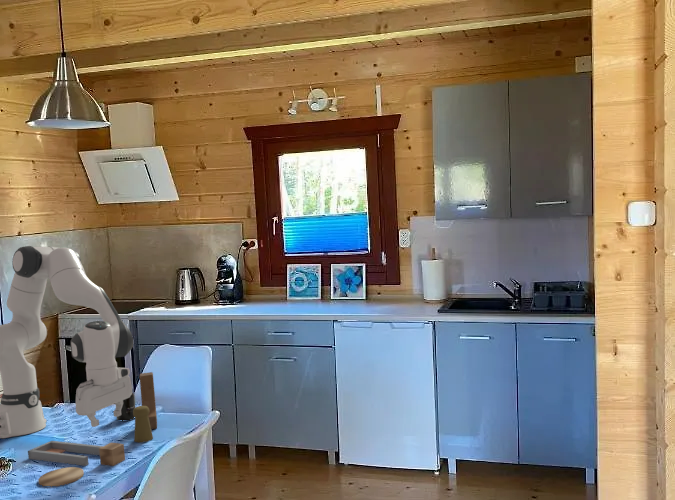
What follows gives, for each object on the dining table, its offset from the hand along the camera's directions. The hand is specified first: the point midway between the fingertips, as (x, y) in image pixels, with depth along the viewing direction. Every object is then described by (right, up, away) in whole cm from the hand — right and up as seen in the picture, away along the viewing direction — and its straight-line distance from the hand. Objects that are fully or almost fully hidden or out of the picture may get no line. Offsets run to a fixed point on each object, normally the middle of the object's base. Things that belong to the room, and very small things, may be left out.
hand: (106, 421), depth 205 cm
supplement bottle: (-8, -10, +44) cm, 46 cm away
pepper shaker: (+6, -11, +19) cm, 23 cm away
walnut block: (+2, -13, 0) cm, 13 cm away
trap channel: (-15, -13, +8) cm, 21 cm away
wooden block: (+4, -10, +33) cm, 35 cm away
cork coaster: (-10, -14, -10) cm, 20 cm away
